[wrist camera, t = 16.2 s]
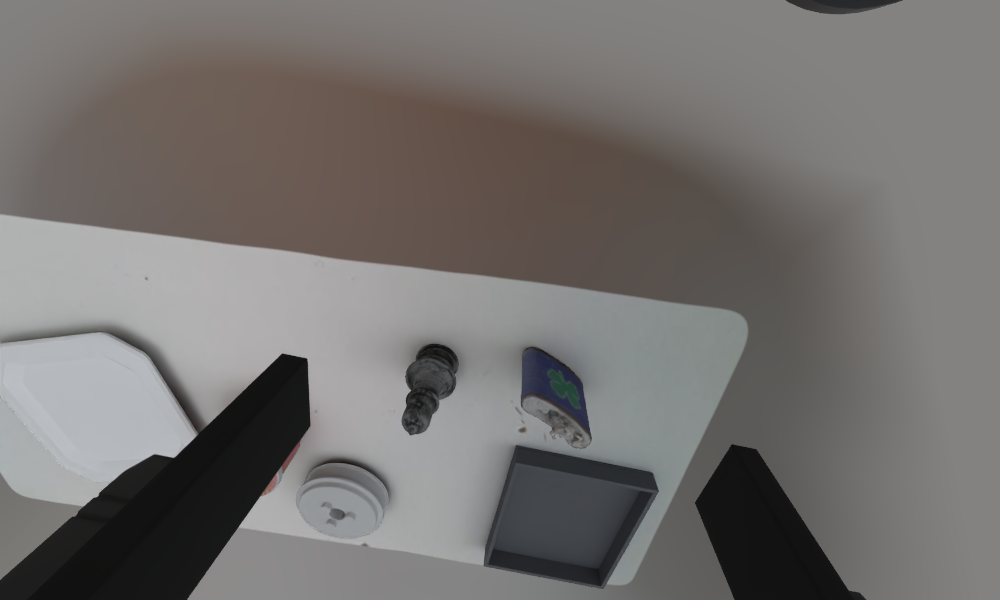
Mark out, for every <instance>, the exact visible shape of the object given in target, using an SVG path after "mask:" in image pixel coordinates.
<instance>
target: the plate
mask: <svg viewBox="0 0 1000 600" xmlns="http://www.w3.org/2000/svg"><path fill="white" fill-rule="evenodd" d="M0 397H1V398H2V399H3V400H4V402H5V403H6V404H7V405H8V406H9V407H10V408H11V410H12V411H13V412H14V413H15V414H16V415H17V416H18V418H19V419H20V420H21V421H22V422H23V423H24V424H25V426H26V427H27V428H28V429H29V430H30V431H31V432H32V434H33V435H34V436H35V437H36V438H37V439H38V440H39V442H40V443H41V444H42V445H43V446H44V447H45V448H46V450H47V451H48V452H49V453H50V454H51V455H52V456H53V458H54V459H55V460H56V461H57V462H58V463H59V464H60V466H62V467H63V468H65V469H67V470H69V471H71V472H73V473H76V474H78V475H80V476H82V477H85V478H87V479H89V480H91V481H94V482H98V483H102V482H112V481H113V480H115V479H116V478H117V477H118V476H119V475H120V474H121V473H123V472H124V471H125V470H127V469H129V468H130V467H132V466H134V465H136V464H138V463H139V462H141V461H143V460H145V459H146V458H148V457H150V456H152V455H154V454H157V455H162V456H167V457H172V458H174V457H176V456H177V455H178V454H179V453H180V452H181V451H182V450H183V449H184V448H185V447H186V446H187V445H188V444H189V443H190V442H191V441H192V440H193V439H194V438H195V437H196V436H197V435H198V432H197V431H196V429H195V428H194V426H193V425H192V423H191V421H190V420H189V418H188V417H187V415H186V414H185V412H184V410H183V409H182V407H181V406H180V404H179V403H178V401H177V399H176V398H175V396H174V395H173V393H172V392H171V390H170V388H169V387H168V385H167V384H166V382H165V381H164V379H163V377H162V376H161V374H160V373H159V371H158V369H157V368H156V366H155V365H154V363H153V362H152V360H151V358H150V357H149V356H148V355H147V354H146V353H145V352H143V351H141V350H139V349H137V348H135V347H133V346H132V345H130V344H128V343H126V342H124V341H122V340H120V339H118V338H116V337H115V336H113V335H111V334H109V333H105V332H95V333H86V334H77V335H68V336H60V337H51V338H42V339H33V340H24V341H15V342H6V343H0Z"/></svg>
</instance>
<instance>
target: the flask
mask: <svg viewBox="0 0 1000 600" xmlns="http://www.w3.org/2000/svg"><path fill="white" fill-rule="evenodd" d="M521 407H522V408H523V410H525V411H526V412H527V413H529V414H532V415H533V416H535V417H537V418H539V419H540V420H542V421H543V422H545V423H546V424H548V425H549V426H551V427H552V430H553V431H550V435H551V436H552V439H556V438H555V435H556V434H558V435H559V436H560V438H562V437H564V438H565V440H566V441H567V442H568V444H570V445H571V446H572V447H574V448H580V449H581V448H586V447H587V446H588V445H589V444H590V443H591V440H592V437H591V433H590V428H589V421H588V416H587V410H586V402H585V398H584V391H583V384H582V382H581V380H580V379H579V378H578V377H577V376H576V375H575V373H574V372H572V371H571V369H569V367H567V366H566V365H565V364H563V363H561V362H559V360H557V359H555V358H554V357H553V356H550V355H549V354H548V353H546V352H544V351H543V350H540V349H538V348H535V347H534V348H533V347H531V348H528V349H526V351H524V353H523V355H522V394H521Z"/></svg>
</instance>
